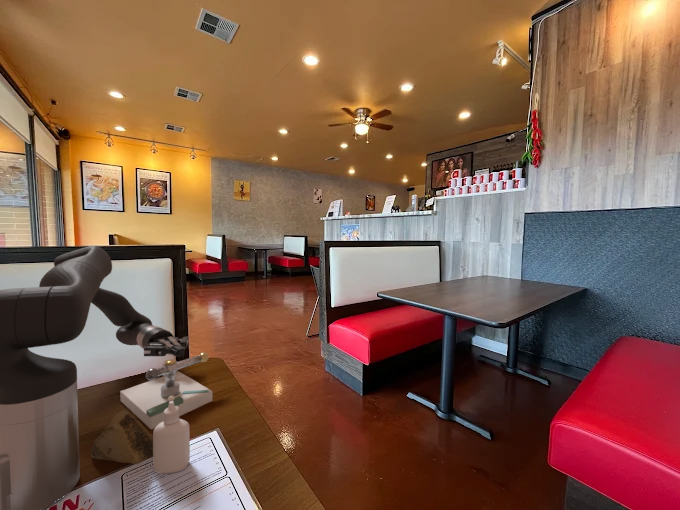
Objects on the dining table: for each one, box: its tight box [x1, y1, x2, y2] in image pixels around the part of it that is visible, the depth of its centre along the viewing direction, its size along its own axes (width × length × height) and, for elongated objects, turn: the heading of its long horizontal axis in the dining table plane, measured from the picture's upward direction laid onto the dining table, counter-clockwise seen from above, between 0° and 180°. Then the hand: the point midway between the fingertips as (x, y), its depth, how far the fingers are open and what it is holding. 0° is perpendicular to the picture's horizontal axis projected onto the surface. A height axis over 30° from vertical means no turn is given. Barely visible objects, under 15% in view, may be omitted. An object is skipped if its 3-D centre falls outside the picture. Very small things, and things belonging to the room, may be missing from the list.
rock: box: [90, 410, 153, 465], centre depth 55 cm, size 11×9×10 cm
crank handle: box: [145, 351, 209, 387], centre depth 73 cm, size 15×3×6 cm, turn 144°
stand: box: [119, 371, 213, 430], centre depth 72 cm, size 14×18×5 cm
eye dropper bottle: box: [152, 401, 191, 474], centre depth 51 cm, size 4×6×12 cm
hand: (181, 352), depth 81 cm, fingers closed
